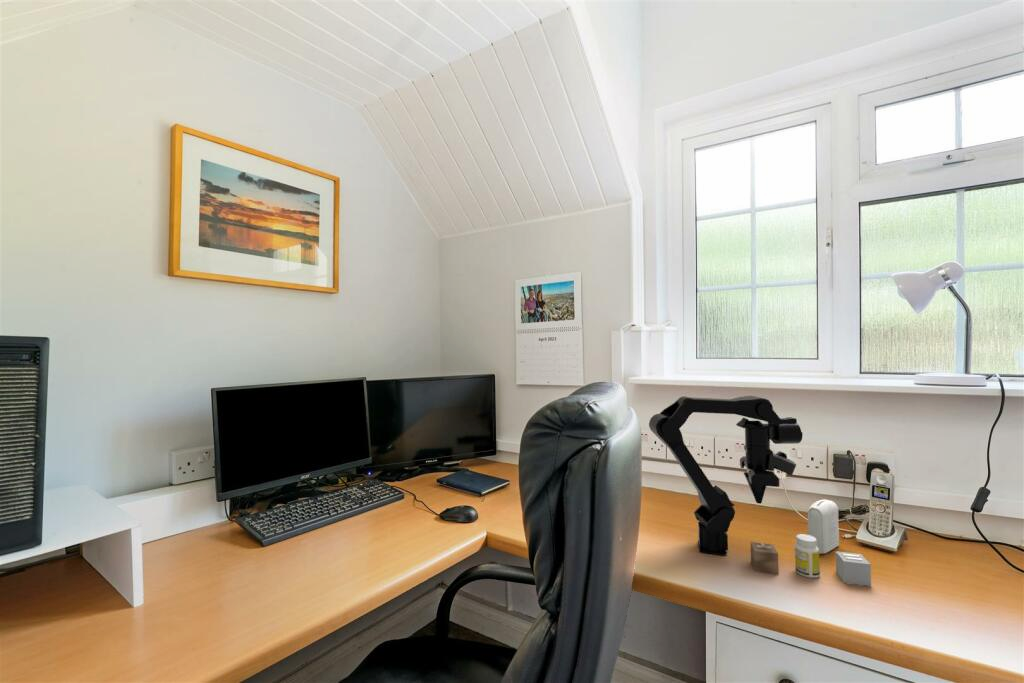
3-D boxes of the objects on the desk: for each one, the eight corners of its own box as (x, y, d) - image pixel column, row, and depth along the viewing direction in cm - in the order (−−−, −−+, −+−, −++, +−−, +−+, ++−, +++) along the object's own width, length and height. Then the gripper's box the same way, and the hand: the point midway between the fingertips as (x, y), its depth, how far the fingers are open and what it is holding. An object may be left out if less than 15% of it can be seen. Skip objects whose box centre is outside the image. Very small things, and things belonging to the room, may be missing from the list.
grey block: (844, 583, 100) (843, 560, 100) (836, 572, 105) (835, 550, 105) (871, 586, 99) (870, 563, 99) (861, 575, 103) (860, 553, 103)
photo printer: (823, 539, 122) (822, 494, 122) (841, 545, 118) (840, 499, 118) (805, 550, 116) (804, 502, 116) (824, 556, 113) (823, 507, 113)
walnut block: (754, 571, 106) (754, 549, 106) (750, 562, 111) (750, 541, 111) (778, 574, 104) (778, 552, 104) (773, 564, 109) (773, 543, 109)
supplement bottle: (816, 569, 106) (815, 534, 106) (822, 579, 102) (821, 543, 102) (793, 567, 108) (792, 532, 108) (798, 576, 103) (797, 540, 103)
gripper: (803, 454, 106) (804, 519, 106) (783, 438, 124) (784, 494, 124) (750, 451, 110) (752, 514, 110) (738, 436, 128) (740, 490, 127)
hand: (758, 503), depth 118 cm, fingers closed
